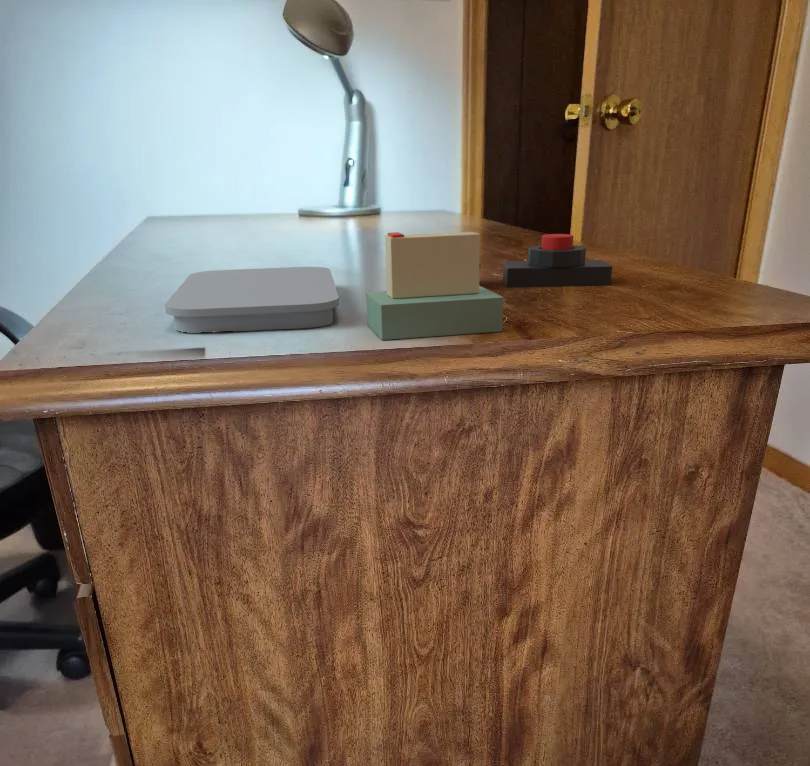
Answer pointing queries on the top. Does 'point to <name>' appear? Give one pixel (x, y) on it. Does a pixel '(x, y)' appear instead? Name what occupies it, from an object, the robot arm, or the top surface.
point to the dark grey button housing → (556, 269)
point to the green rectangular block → (434, 314)
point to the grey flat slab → (254, 300)
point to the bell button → (557, 241)
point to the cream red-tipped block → (432, 264)
